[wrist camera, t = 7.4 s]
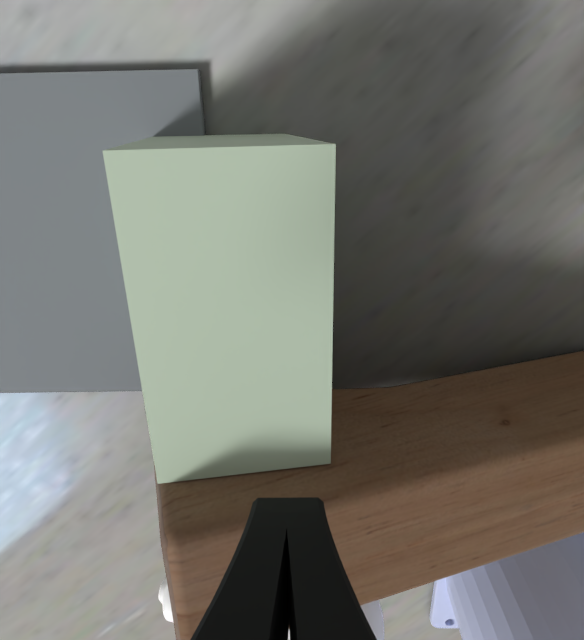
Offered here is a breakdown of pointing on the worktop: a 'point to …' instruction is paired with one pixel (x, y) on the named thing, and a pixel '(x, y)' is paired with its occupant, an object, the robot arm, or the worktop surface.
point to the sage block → (229, 297)
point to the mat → (73, 220)
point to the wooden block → (406, 483)
